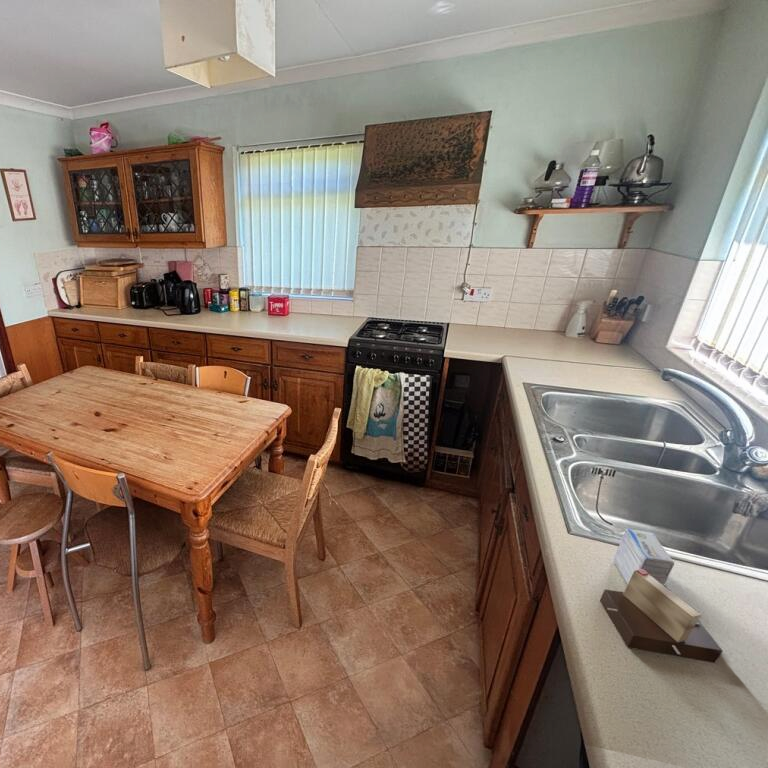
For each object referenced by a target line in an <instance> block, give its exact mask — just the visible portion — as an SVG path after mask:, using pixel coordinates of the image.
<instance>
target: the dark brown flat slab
mask: <svg viewBox="0 0 768 768" xmlns="http://www.w3.org/2000/svg"><path fill="white" fill-rule="evenodd" d="M623 593H624V591H618V590H613V589H604V590H603V591H602V595H601V597H600V599H599V602H600V604H601V606H602V607H603V609H604V610H605V612H606V614H607V616H608V618H609V619H610V621H611V622H612V624H613V626H614V628H615V629H616V631H617V633H618V634H619V635H620V637H621V639H622V641H623V642H624V644H625V646H626V647H627V648H628V649H635V650H640V651H646V652H652V653H657V654H662V655H667V656H673V657H680V658H685V659H690V660H696V661H702V662H707V663H713V664H716V662H717V661H718V659H719V658H720V656H721V655H722V653H723V652H724V651H723V649H722V647H720V645H719V644H718V642H717V641H716V640H715V639H714V637H712V635H711V634H710V633H709V631H708V630H707V629H706V628H705V627H704V625H703V624H702V623H701V621H700V619H699V620H698V621H697V623H696V625H695V626H694V628H693V630H692V631H691V633H690V635H689V636H688V638H687V639H686V641H682V642H677V641H676V640H674V639H673V638H672V637H671V636H670V635H669V634H668V633H666V632H665V631H664V630H663V629H662V628H661V627H660V626H658V625H657V624H656V623H655V622H654V621H653V620H652V619H650V618H649V617H648V616H647V615H646V614H645V613H643V612H642V611H641V610H640V609H639V608H638V607H637V606H635V605H634V604H633V603H632V602H631V601H630V600H629V599H627V598H626V597H625V596H624V595H623Z"/></svg>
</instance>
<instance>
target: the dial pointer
mask: <svg viewBox="0 0 768 768" xmlns="http://www.w3.org/2000/svg"><path fill="white" fill-rule="evenodd" d="M623 592H624V593H623V595H624V596H625V597H626V598H627V599H629V600H630V601H631V602H632V603H633V604H634V605H635V606H637V607H638V608H639V609H640V610H641V611H642V612H643V613H645V614H646V615H647V616H648V617H649V618H650V619H652V620H653V621H654V622H655V623H656V624H657V625H658V626H660V627H661V628H662V629H663V630H664V631H665V632H666V633H668V634H669V635H670V636H671V637H672V638H673V639H674V640H676V641H677V642H682V641H686V639H687V638H688V636H689V635H690V633H691V631H692V630H693V628H694V626H695V625H696V623H697V621H698V620H699V621H700V619H701V616H702V615H701V614H700V613H699V612H698V611H697V610H695V609H694V608H693V607H692V606H690V605H689V604H687V603H686V602H685V601H684V600H683V599H682V598H680V597H678V595H676V594H675V593H673V592H672V591H671V590H669V589H668V588H667V587H666V586H665V585H664V586H663V585H662V584H661V583H659V582H658V581H657V580H656V579H654V578H653V577H652V576H650V575H649V573H648V572H646V571H645V570H644V569H639V570H634V572H633V574H632V577H631V579H630V581H629V583H628V585H627V584H626V587H625V589H624V591H623Z"/></svg>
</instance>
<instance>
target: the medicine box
mask: <svg viewBox="0 0 768 768" xmlns="http://www.w3.org/2000/svg"><path fill="white" fill-rule="evenodd" d="M612 560H613V562H614V564H615V566H616V567H617V569H618V571H619V573H620V574H621V576H622V577H623V579H624V581H625V583H626V586H627V585H628V583H629V581H630V579H631V577H632V574H633V572H634V570H639V569H644V570H645V571H646V572H648V573H649V575H650V576H652V577H653V578H654V579H656V580H657V581H658V582H659V583H661V584H662V585H663V586H664V587H665V584H666V582H667V580H668V578H669V576H670V574H671V572H672V570H673V568H674V565H675V561H674V560H673V559H672V558H671V556H670V555H669V553H668V552H667V551H666V549H665V548H664V547H663V545H662V544H661V543H660V541H659V539H658V538H657V537H656V536H655V534H654V533H652V532H648V531H644V530H639V529H638V530H637V529H632V528H631V529H629V528H626V529H625V531H624V533H623V535H622V538H621V540H620V543H619V545H618V548H617V550H616V552H615V554H614V557H613V559H612Z"/></svg>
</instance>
